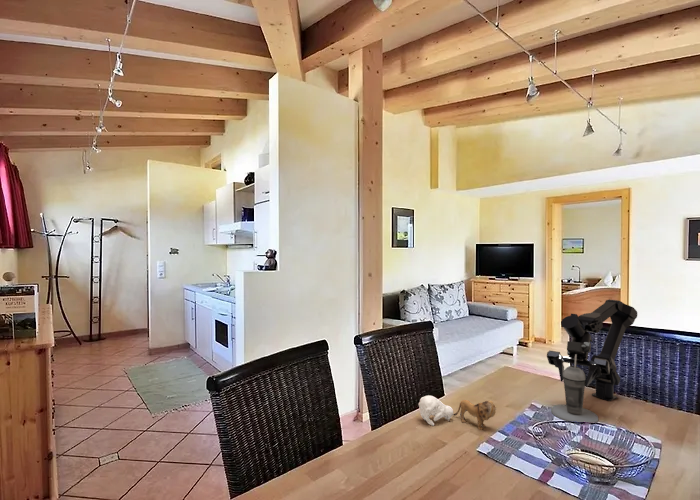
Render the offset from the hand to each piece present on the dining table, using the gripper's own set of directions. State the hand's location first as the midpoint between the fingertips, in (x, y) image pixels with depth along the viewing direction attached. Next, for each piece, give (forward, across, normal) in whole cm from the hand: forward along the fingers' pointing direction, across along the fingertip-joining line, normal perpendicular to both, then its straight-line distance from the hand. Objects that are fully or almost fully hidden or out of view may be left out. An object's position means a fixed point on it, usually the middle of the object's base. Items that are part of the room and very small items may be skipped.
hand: (573, 383), depth 130 cm
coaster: (+7, 0, +9) cm, 11 cm away
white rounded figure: (+32, -33, -17) cm, 49 cm away
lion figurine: (+28, -23, -12) cm, 38 cm away
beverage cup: (+6, 0, +8) cm, 10 cm away
